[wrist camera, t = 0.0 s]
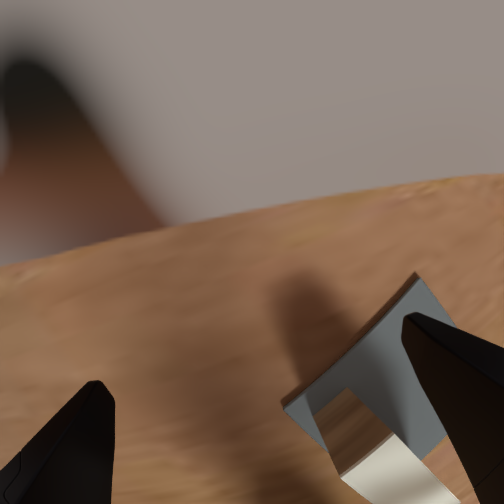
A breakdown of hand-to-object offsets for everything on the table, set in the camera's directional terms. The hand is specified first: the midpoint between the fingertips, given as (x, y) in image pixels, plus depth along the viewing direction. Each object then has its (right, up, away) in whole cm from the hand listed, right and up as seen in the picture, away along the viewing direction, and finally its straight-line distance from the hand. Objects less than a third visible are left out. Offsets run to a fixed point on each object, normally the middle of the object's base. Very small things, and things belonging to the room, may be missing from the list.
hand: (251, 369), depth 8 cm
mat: (+13, -9, +13) cm, 21 cm away
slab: (+9, -12, +12) cm, 20 cm away
